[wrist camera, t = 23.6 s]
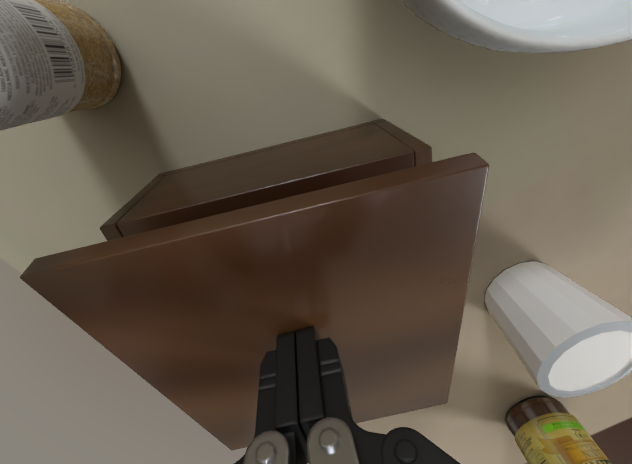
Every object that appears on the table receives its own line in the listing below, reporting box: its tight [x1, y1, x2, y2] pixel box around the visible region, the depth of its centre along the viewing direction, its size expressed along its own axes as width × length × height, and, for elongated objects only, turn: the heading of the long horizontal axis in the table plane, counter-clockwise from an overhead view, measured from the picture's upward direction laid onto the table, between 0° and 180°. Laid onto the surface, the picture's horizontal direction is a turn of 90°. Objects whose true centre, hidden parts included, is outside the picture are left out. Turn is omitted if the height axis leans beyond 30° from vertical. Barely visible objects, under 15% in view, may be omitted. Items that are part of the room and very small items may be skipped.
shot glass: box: [484, 261, 632, 398], centre depth 22 cm, size 7×7×7 cm
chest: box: [100, 119, 432, 241], centre depth 19 cm, size 15×13×7 cm
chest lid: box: [20, 153, 489, 450], centre depth 14 cm, size 16×13×1 cm
